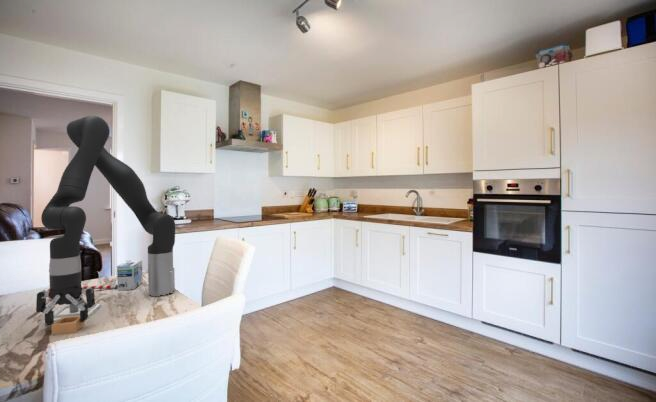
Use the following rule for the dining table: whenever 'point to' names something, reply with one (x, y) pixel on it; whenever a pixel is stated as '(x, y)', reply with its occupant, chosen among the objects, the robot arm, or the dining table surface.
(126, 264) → the light bulb box
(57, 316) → the post base
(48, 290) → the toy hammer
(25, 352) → the dining table surface
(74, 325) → the ring
